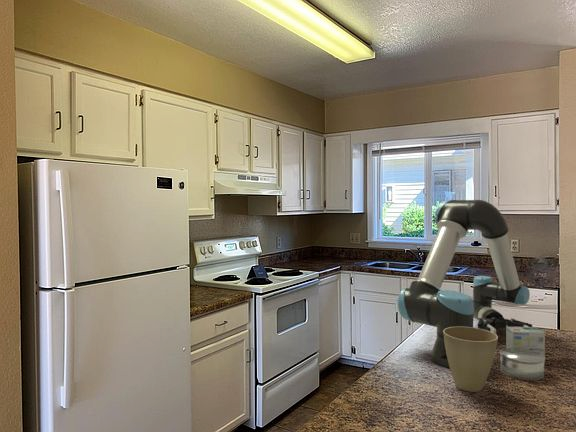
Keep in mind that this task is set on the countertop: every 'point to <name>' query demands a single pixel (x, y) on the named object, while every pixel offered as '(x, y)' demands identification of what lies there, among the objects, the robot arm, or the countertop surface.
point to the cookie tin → (522, 363)
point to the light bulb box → (526, 338)
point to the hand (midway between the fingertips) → (514, 333)
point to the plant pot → (470, 355)
